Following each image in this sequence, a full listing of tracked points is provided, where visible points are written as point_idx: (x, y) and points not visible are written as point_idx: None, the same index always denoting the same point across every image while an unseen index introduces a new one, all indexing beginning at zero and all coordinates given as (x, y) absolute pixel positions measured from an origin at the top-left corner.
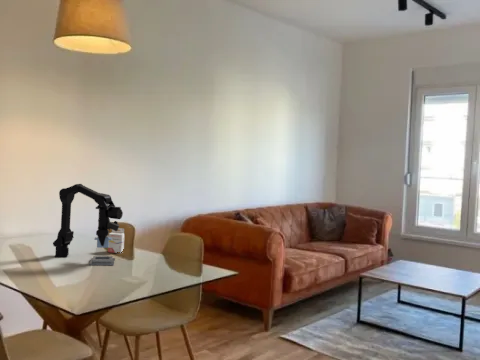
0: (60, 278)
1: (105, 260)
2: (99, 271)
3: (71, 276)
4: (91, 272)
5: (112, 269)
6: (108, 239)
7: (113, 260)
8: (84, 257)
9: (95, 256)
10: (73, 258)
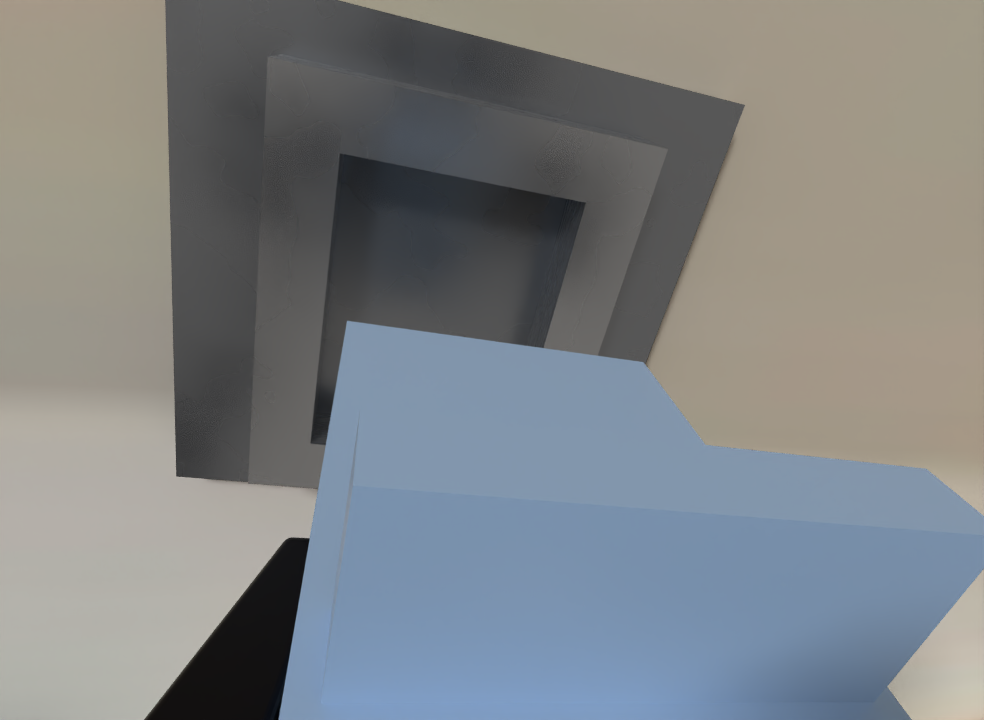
0: (973, 683)
1: (617, 281)
2: (961, 372)
3: (969, 622)
4: (946, 463)
5: (972, 167)
6: (846, 669)
7: (451, 55)
8: (23, 549)
9: (275, 451)
10: (125, 664)
